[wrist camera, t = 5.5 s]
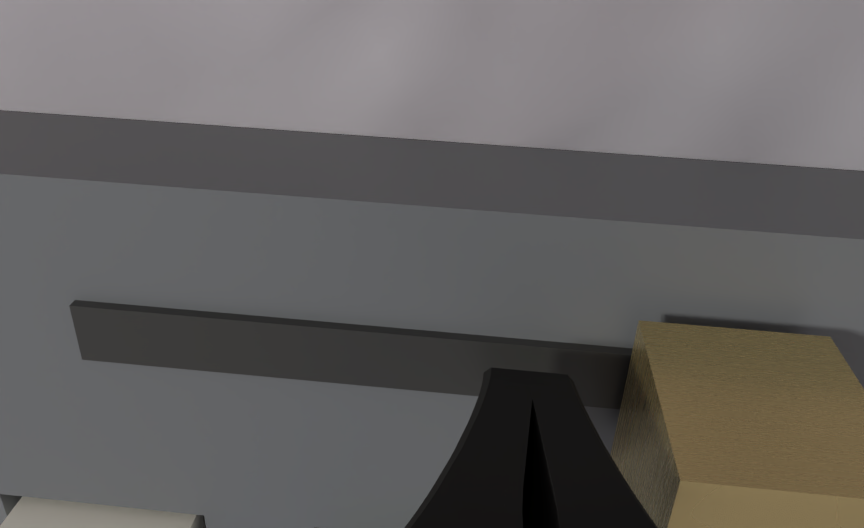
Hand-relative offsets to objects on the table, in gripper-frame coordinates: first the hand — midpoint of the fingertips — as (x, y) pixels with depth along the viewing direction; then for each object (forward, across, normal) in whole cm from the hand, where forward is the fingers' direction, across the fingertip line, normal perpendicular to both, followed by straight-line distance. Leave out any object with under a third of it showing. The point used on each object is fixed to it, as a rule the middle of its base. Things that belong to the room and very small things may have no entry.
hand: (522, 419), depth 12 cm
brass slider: (+1, -3, 0) cm, 3 cm away
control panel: (+4, +2, +4) cm, 6 cm away
